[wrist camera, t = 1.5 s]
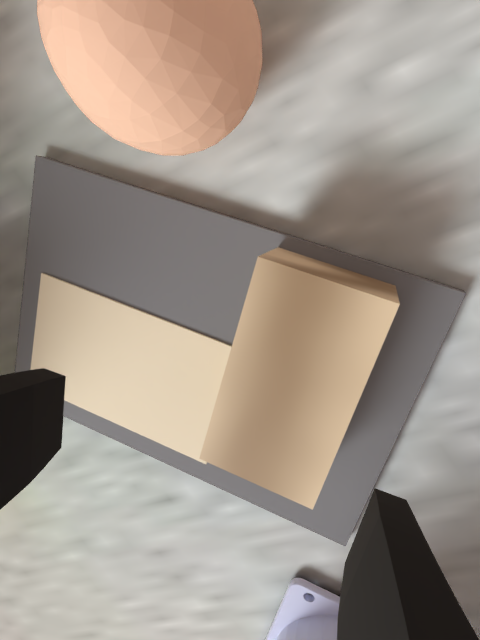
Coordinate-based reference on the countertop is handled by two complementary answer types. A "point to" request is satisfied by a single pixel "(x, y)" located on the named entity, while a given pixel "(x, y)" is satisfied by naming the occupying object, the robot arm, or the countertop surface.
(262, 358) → the card box
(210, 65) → the egg
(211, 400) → the mat
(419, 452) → the countertop surface
